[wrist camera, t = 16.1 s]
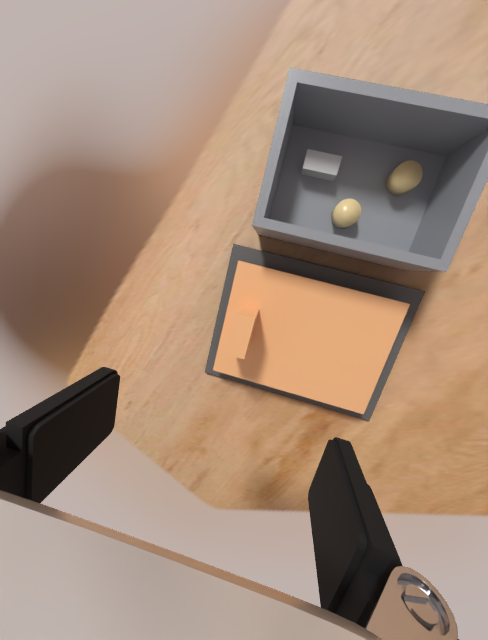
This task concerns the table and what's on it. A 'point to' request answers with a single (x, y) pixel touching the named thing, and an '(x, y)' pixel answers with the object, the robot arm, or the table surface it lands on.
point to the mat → (325, 276)
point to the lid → (307, 336)
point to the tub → (373, 171)
